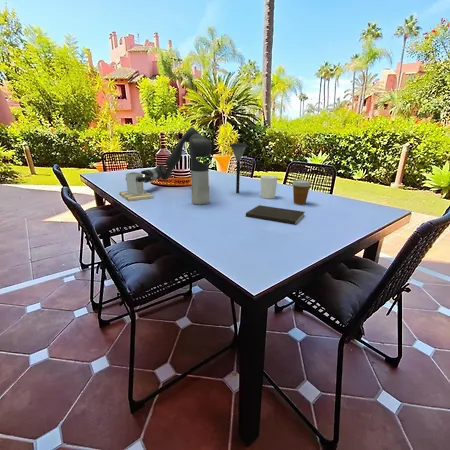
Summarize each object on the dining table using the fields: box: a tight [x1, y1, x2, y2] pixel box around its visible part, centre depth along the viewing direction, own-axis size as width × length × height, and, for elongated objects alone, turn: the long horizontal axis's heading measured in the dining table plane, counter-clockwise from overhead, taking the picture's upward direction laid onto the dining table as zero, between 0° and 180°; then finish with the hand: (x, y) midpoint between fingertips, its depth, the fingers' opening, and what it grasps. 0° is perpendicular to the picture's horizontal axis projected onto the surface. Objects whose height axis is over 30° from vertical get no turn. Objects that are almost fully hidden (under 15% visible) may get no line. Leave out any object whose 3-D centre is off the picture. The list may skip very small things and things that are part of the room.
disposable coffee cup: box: [292, 179, 312, 206], centre depth 146 cm, size 10×10×12 cm
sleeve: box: [125, 171, 148, 196], centre depth 157 cm, size 9×9×12 cm
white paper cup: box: [260, 175, 278, 200], centre depth 159 cm, size 10×10×12 cm
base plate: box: [119, 190, 155, 202], centre depth 159 cm, size 20×14×6 cm
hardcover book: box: [245, 204, 306, 226], centre depth 125 cm, size 16×23×2 cm
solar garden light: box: [228, 142, 250, 194], centre depth 165 cm, size 12×12×30 cm
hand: (132, 179), depth 155 cm, fingers open, 8 cm apart
